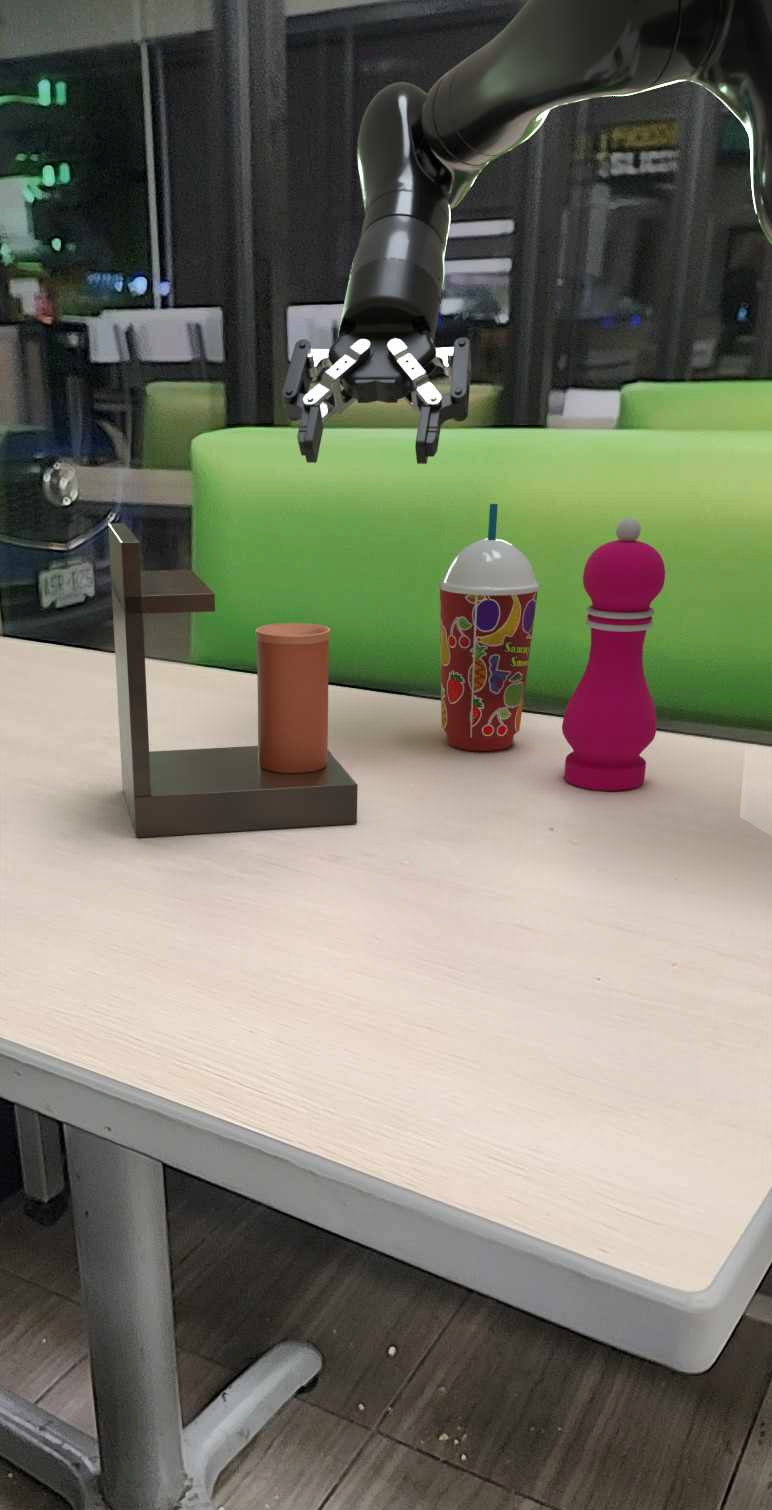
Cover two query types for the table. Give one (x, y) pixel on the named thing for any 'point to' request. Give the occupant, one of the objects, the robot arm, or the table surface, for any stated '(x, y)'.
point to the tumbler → (292, 697)
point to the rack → (198, 781)
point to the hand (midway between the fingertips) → (364, 455)
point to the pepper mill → (615, 667)
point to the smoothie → (485, 642)
